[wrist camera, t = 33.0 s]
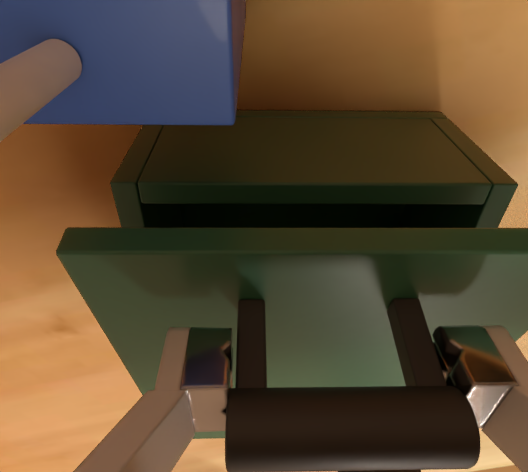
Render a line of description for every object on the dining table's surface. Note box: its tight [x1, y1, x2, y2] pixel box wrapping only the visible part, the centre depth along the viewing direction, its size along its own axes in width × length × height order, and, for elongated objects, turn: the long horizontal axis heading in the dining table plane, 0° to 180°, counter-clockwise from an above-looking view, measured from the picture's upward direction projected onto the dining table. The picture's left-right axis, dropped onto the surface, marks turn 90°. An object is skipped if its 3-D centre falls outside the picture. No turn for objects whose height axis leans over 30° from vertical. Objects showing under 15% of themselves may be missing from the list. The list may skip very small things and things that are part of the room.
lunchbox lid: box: [56, 228, 528, 472], centre depth 13 cm, size 15×13×5 cm
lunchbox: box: [110, 110, 518, 228], centre depth 19 cm, size 15×13×6 cm
